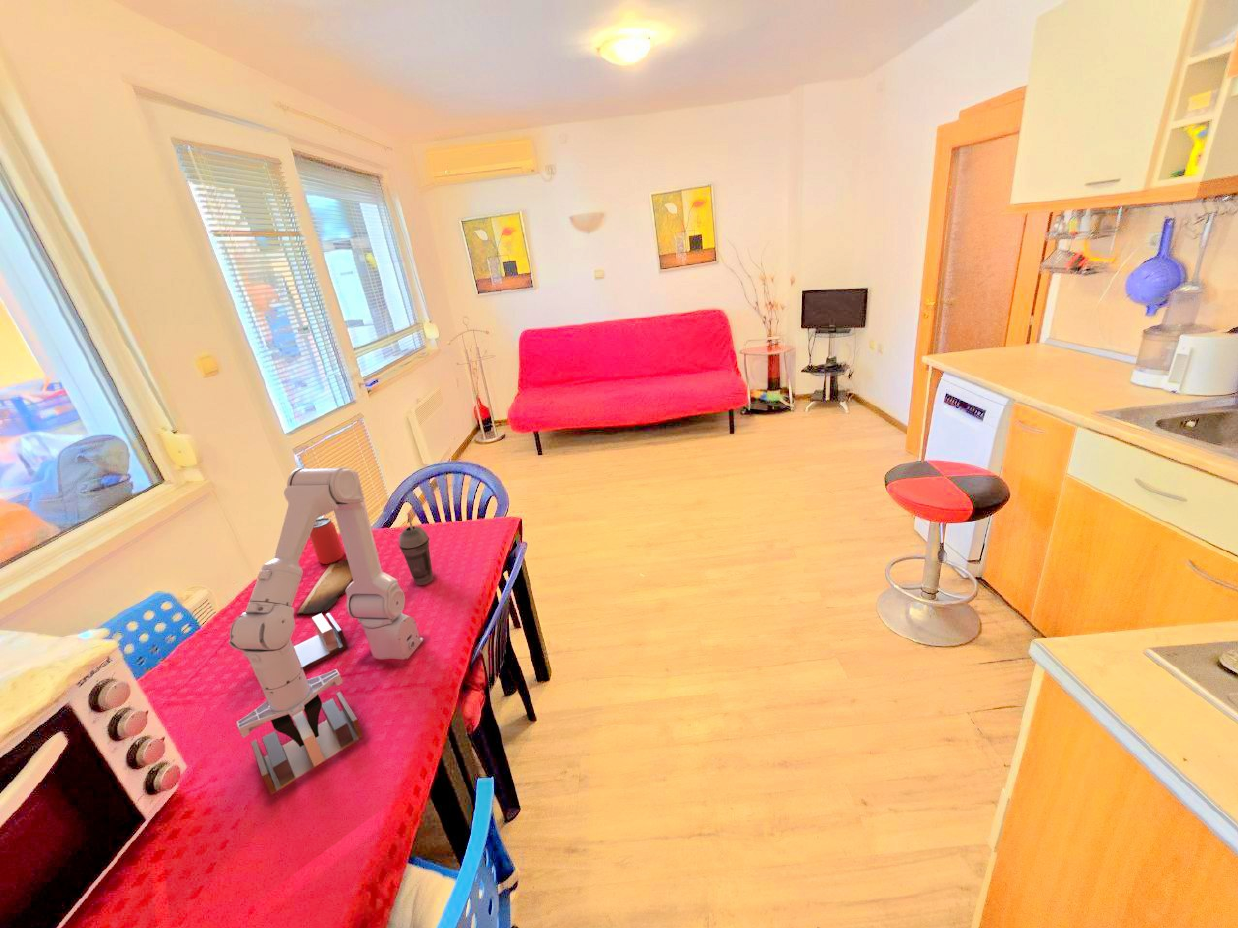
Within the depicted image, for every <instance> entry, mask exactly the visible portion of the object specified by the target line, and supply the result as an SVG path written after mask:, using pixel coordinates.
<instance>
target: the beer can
mask: <svg viewBox="0 0 1238 928" xmlns="http://www.w3.org/2000/svg"><path fill="white" fill-rule="evenodd" d="M339 537H340V536H339V534H338V531H337V528H336V525H335V524H334V523H333V521H332V519H330V517H329V518H328V517H324V518H317V520H316V522H315V525H314V527H313V529H312V532H311V534H310V536H309V538H310V540H311V544H312V546H313V549H314V552H315V554H316V559H317V560H318V563H320V564H321V565H330V564H331V563H333V562H339V561H340V560H342V558H343V557H344V552H345V551H344V550H343V547H342V543H341V540H340V538H339Z"/></svg>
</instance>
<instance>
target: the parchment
mask: <svg viewBox="0 0 1238 928" xmlns="http://www.w3.org/2000/svg"><path fill="white" fill-rule="evenodd" d="M352 581H353V578H352V574H351V570H350V567H349V563H348V559H347V558H346V559H343V560H342V561H336V562H333V563H330V564H329V566H328V567H327V568H326V569H325V571H324V572H323V574H322V575H321V576H320V577H319V579H318V581H317V582H316V583H315V585H314V586H313V588H312V590H311V591H310V593H309V594H308V595H307V596H306V598H305V599H304V601H303V603H302V604H301V606H300V607H299V609H297V611H296V612H295V614H296V615H298V614H304V615H305V614H306V615H310V614H315V613H320V612H321V613H326V612H327V611H329V609H332V607H333V606H334V605H336V603H337V601H338V599H339V597H340V596H342V595H344V594H346V591H345V590H346V589H347V587H348V586H349V584H350V583H351V582H352Z"/></svg>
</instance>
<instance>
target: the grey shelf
mask: <svg viewBox="0 0 1238 928" xmlns="http://www.w3.org/2000/svg"><path fill="white" fill-rule="evenodd" d="M335 695H336V698H337V700H338V704H339V706H340V708H339V707H338V705H337V703H336V702H335V699H334V698H333V697H332V698H330V699H328V700H326V701H324V702H322V708H321V710H322V712H323V715H324V717H325V720H323V721H322V722H320V723H318V733H319V736H318V737H316V740H317V743H318V745H319V747H320V750H321V752H322V754H323V757H324V759H325V761H327V760H328V759H330V758H332V757H333V756H335V755H336V754H338V753H340V752H341V751H343V750H345V749H346V748H347V747H349V746H351V745H352V744H354V743H355V742H357V741H359V740H361V738H363V737H364V733H363V730H362V728H361V725H360V723H359V720H358V717H357V716H356V714H355V713H354V711H353V709H352V708H351V706H350V704H349V703H348V701H347V699H346V697H345V696H344V694H343V693H342V691H339V692H337V693H335ZM261 740H262V743H263V746H264V749H265V751H266V755H265V754H264V753H263V750H262V748H261V745H260V744H259V742H258V740H257V739H256V738H255V739H254V740H252V741H250V745H251V748H252V750H253V751H252V752H253V754H254V757H255V760H256V763H257V766H258V769H259V772H260V776H261V778H262V780H263V781H264V784H265V786H266V788H267V790H268V792H269V794H270V795H271V796H272V795H273V794H275V793H277V792H278V791H279V790H281V789H283V788H284V787H286V786H287V785H289V784H291V783H292V782H294V781H295V780H297V779H299V778H300V777H301V776H303V775H305V774H306V773H308V772H310V771H312V770H313V769H314V768H316V767H317V766H319V765H320V764H322V763H323V762H325V761H323V762H322V763H320V764H318V765H317V766H315V767H314V765H313V763H312V761H311V758H310V756H309V754H308V752H307V750H306V747H305V745H303V746H301V747H299V745H298V744H297V743H296V742H295V741H294V740H293V739H291V740H290V741H287V742H286V743H284V744H282V742H281V739H280V737H279V735H278V733H277V731H276V730H273V731H272V732H269V733H268V734H266V735H265V736H263V737H261Z"/></svg>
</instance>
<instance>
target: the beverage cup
mask: <svg viewBox="0 0 1238 928" xmlns="http://www.w3.org/2000/svg"><path fill="white" fill-rule="evenodd" d="M407 517H408V518H407V519H408V522H409V527H405V529H403V531H402V532H401V533H400V535H399V538H398V548H400V551H401V553H402V554H403V556H404V559H405V562H406V565H407V567H408V569H409V571H410V575H411V577H412V579H413V581H414V583H415V585H417V586H424V585H425V586H426V585H428V584H429V583H431V582H432V581H433V580H434V574H433V567H432V561H431V553H430V537H429V536H428V533H427V531H425V530H424V529H423V528H421V527H419V526H415V525H413V523H412V517H411V513H410V512H408V513H407Z"/></svg>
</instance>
